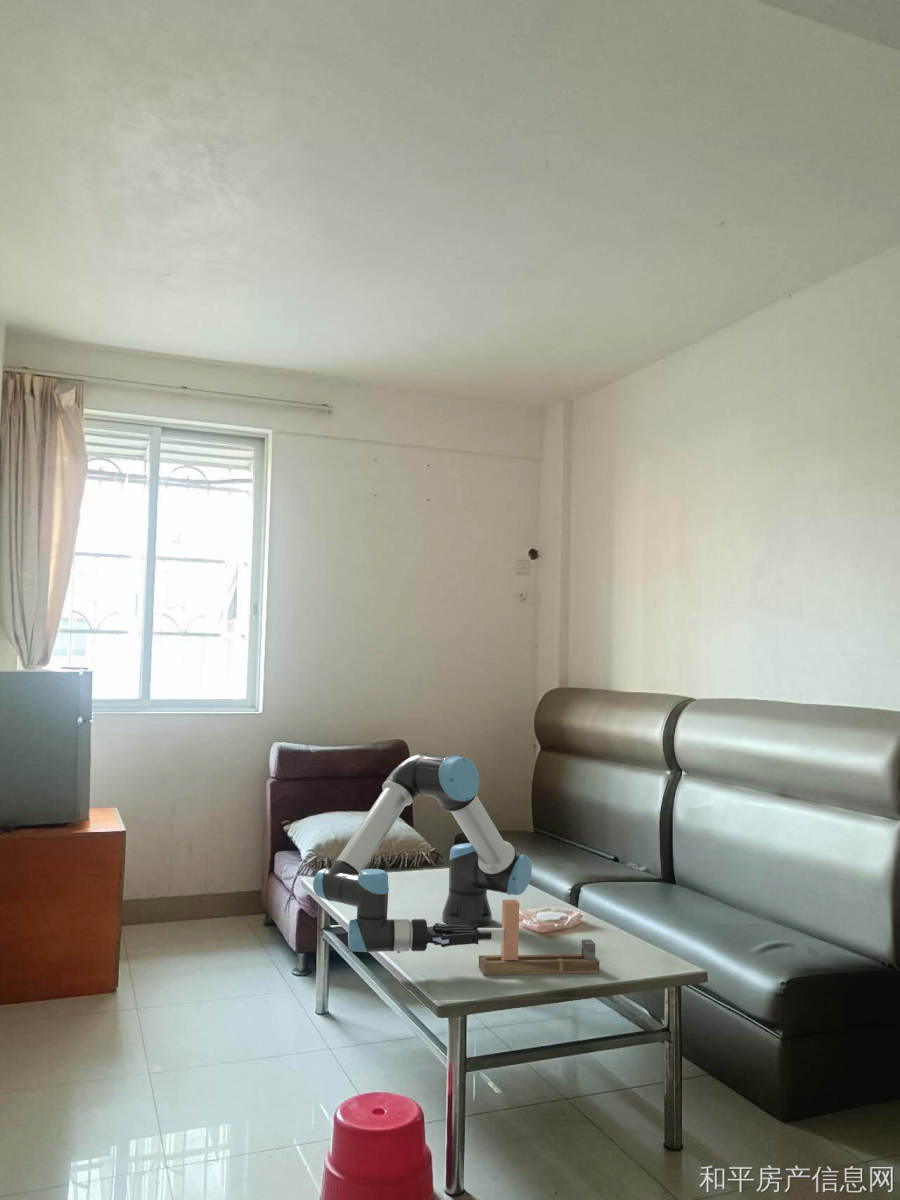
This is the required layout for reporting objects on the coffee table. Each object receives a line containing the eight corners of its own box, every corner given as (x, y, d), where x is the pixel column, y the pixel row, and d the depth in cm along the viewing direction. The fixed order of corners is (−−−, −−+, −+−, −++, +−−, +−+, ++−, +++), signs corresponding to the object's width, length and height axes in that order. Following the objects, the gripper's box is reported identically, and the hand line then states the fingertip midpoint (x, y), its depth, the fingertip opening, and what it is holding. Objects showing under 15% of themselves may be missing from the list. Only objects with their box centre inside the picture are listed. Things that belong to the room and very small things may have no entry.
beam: (478, 967, 236) (479, 939, 237) (591, 965, 241) (592, 938, 241) (483, 975, 230) (484, 946, 231) (599, 973, 235) (599, 944, 235)
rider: (500, 965, 236) (501, 899, 237) (515, 964, 237) (516, 899, 238) (503, 969, 232) (504, 903, 234) (518, 969, 233) (520, 903, 234)
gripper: (407, 943, 236) (497, 941, 240) (412, 958, 224) (508, 957, 227) (408, 913, 237) (498, 912, 241) (413, 926, 224) (509, 925, 228)
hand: (503, 934), depth 234 cm, fingers closed
